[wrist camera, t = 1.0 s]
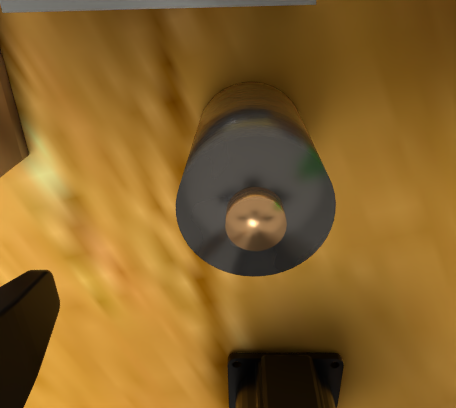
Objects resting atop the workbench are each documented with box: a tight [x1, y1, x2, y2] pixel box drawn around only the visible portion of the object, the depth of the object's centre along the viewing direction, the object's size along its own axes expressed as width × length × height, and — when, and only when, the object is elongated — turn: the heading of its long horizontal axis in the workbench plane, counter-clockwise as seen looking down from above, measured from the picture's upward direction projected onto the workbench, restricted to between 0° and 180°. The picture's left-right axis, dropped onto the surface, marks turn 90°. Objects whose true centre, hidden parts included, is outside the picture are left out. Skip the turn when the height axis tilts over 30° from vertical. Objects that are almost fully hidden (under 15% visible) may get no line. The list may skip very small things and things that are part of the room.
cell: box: [176, 82, 336, 276], centre depth 14 cm, size 4×4×8 cm
